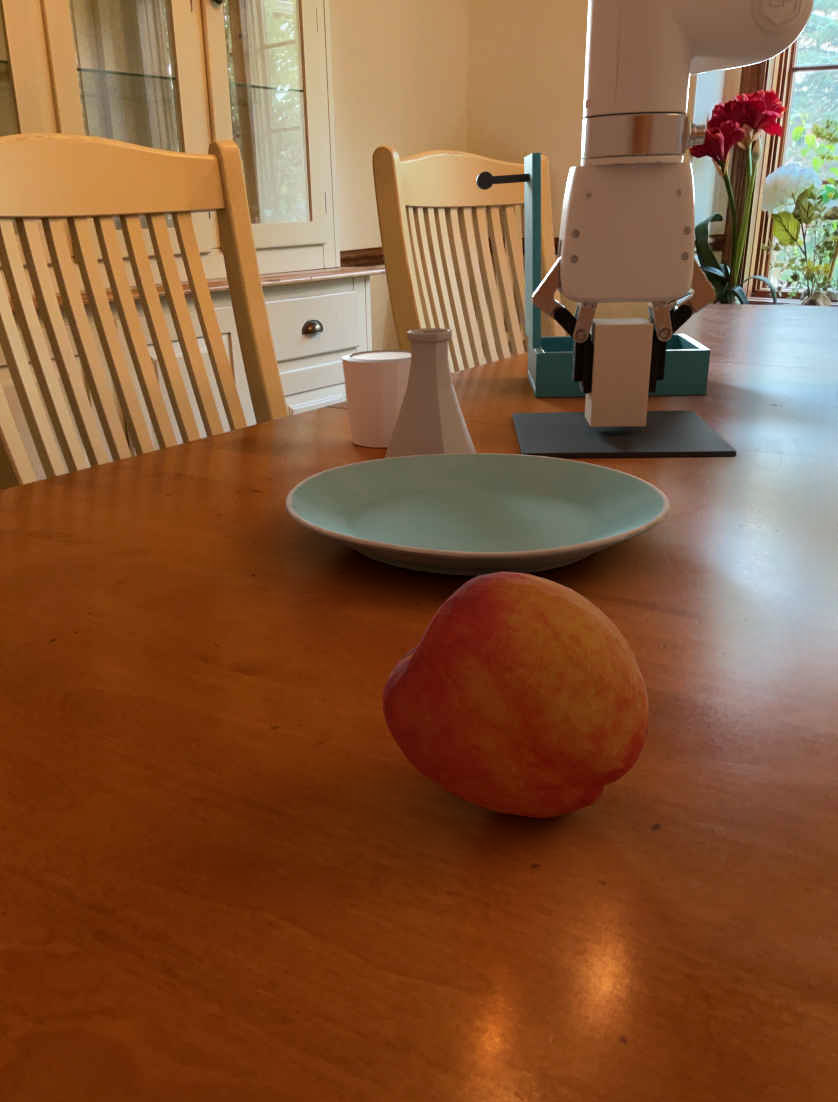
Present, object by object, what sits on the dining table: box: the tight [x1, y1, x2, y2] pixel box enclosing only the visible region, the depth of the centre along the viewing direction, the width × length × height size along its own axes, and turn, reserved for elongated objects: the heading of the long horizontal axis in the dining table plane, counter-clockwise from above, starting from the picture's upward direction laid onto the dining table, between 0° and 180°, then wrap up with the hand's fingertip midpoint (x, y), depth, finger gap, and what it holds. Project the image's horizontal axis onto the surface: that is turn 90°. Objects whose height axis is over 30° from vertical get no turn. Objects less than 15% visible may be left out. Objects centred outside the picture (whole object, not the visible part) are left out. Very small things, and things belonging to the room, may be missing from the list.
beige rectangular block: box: [584, 317, 653, 427], centre depth 85 cm, size 4×4×8 cm
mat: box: [512, 409, 737, 459], centre depth 87 cm, size 16×16×1 cm
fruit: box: [381, 572, 650, 819], centre depth 34 cm, size 8×8×8 cm
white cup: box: [341, 349, 411, 449], centre depth 86 cm, size 7×7×7 cm
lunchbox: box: [526, 333, 711, 398], centre depth 108 cm, size 17×13×4 cm
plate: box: [284, 452, 671, 577], centre depth 62 cm, size 22×22×3 cm
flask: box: [384, 327, 477, 458], centre depth 76 cm, size 7×7×10 cm
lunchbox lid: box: [475, 152, 542, 349], centre depth 104 cm, size 17×13×6 cm
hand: (616, 387), depth 85 cm, fingers closed on beige rectangular block, 4 cm apart
